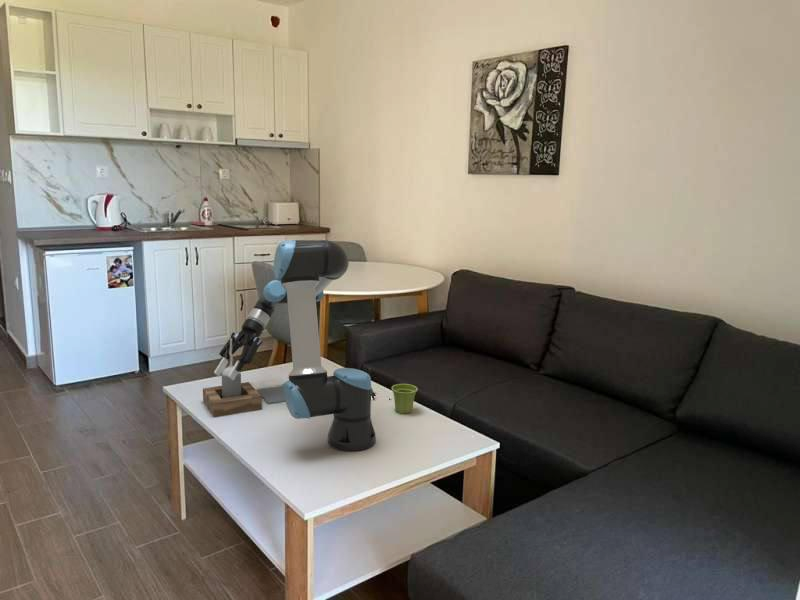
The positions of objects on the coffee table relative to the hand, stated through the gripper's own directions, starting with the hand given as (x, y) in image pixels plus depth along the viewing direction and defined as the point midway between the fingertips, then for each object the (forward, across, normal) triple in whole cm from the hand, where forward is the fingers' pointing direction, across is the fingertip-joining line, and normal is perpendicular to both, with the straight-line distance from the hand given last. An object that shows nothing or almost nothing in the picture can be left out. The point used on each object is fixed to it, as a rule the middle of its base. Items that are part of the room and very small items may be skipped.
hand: (223, 376), depth 208 cm
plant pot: (-16, -55, -33) cm, 66 cm away
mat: (-7, -7, -24) cm, 26 cm away
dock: (+6, 0, -11) cm, 13 cm away
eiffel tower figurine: (-18, -37, -36) cm, 55 cm away
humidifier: (+6, 0, -11) cm, 13 cm away
